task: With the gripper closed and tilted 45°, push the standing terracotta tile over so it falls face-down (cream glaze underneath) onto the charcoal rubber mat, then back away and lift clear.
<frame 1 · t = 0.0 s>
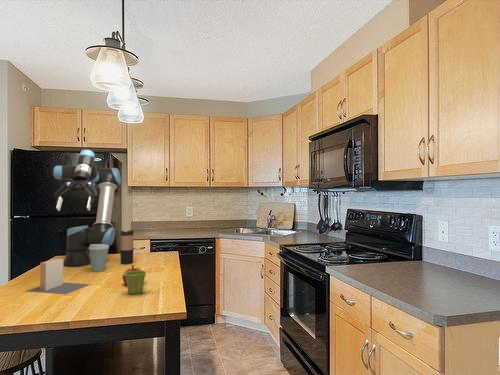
hand: (73, 209, 160), 36 cm above the table, tool tilted 35°, fingers open, 13 cm apart
mat: (59, 288, 152), on the table
pomegranate: (133, 284, 160), on the table
tile: (51, 287, 153), point 1 cm above the table, touching mat
disposable coffee cup: (98, 271, 188), on the table
travel mug: (126, 263, 208), on the table
plant pot: (135, 293, 146), on the table
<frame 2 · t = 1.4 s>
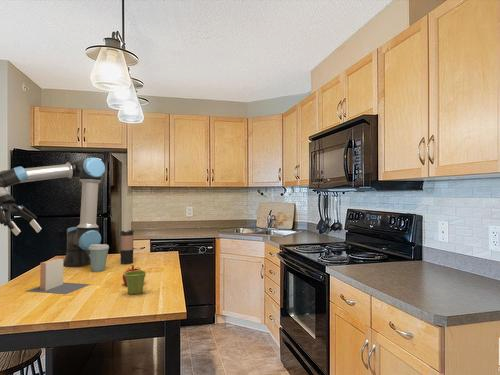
hand: (29, 232, 158), 25 cm above the table, tool tilted 45°, fingers open, 11 cm apart
nothing on the table moved.
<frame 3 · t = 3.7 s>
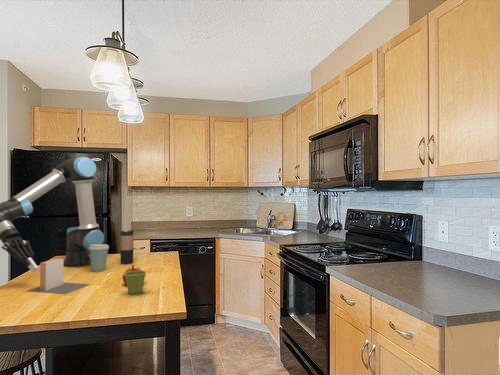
hand: (35, 269, 154), 8 cm above the table, tool tilted 45°, fingers closed
nothing on the table moved.
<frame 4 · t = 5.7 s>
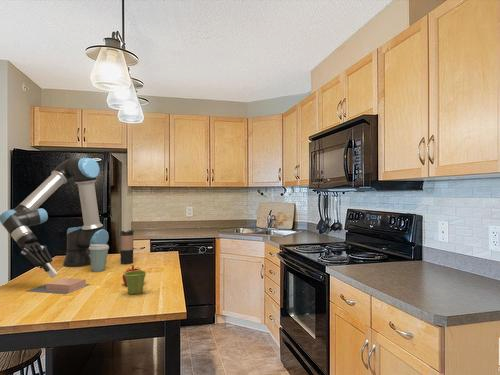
hand: (54, 275, 152), 6 cm above the table, tool tilted 45°, fingers closed
tile: (55, 283, 152), point 2 cm above the table, tilted 90°, touching mat
everything else where it was.
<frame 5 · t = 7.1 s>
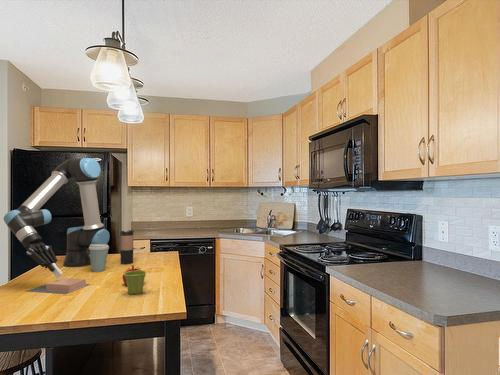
hand: (59, 275, 152), 6 cm above the table, tool tilted 45°, fingers closed
nothing on the table moved.
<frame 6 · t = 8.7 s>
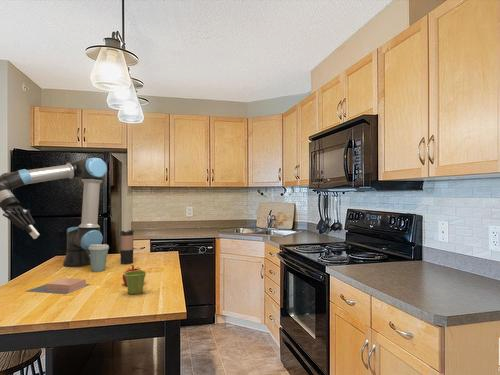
hand: (36, 236, 157), 23 cm above the table, tool tilted 45°, fingers closed
nothing on the table moved.
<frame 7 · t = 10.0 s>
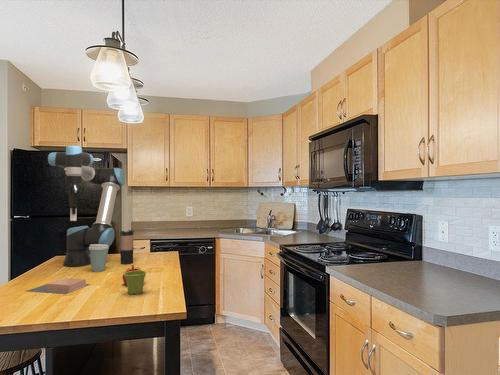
hand: (73, 220, 175), 29 cm above the table, tool pointing down, fingers closed
nothing on the table moved.
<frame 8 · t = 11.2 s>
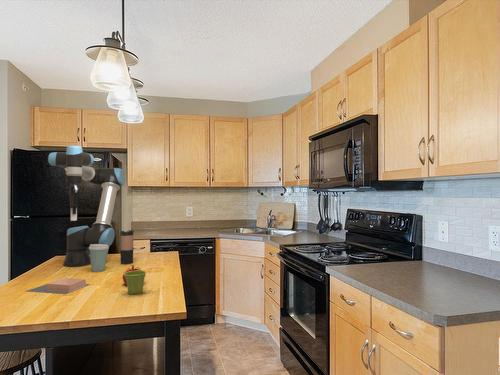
hand: (73, 220, 175), 29 cm above the table, tool pointing down, fingers closed
nothing on the table moved.
at the end: tile tilted 90°; tile inside the target area on the mat (0.7 cm from its centre), point 2.2 cm above the mat's base; tile touching mat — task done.
